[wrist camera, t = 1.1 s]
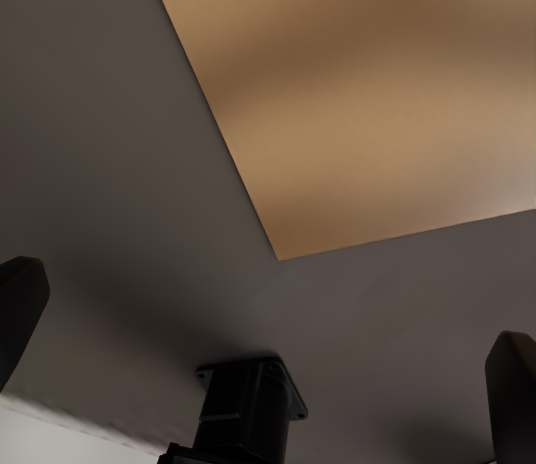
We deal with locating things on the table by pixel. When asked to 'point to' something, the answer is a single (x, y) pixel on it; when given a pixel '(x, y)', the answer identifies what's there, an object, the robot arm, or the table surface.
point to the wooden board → (369, 111)
